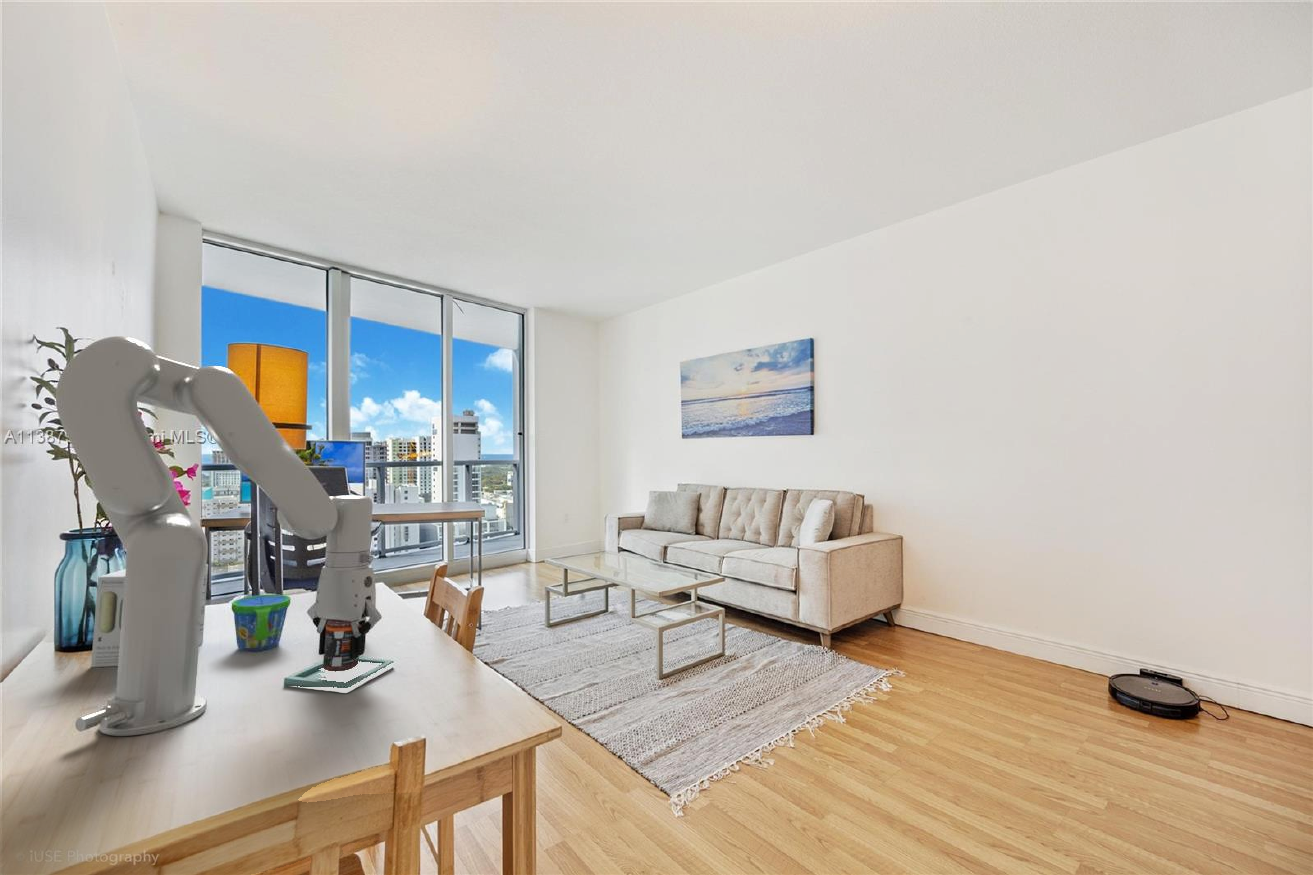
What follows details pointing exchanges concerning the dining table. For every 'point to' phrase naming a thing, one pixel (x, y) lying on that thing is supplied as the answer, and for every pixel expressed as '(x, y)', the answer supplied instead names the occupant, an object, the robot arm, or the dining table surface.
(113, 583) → the supplement box
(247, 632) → the snack cup
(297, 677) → the tray
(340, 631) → the supplement bottle
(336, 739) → the dining table surface
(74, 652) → the dining table surface
